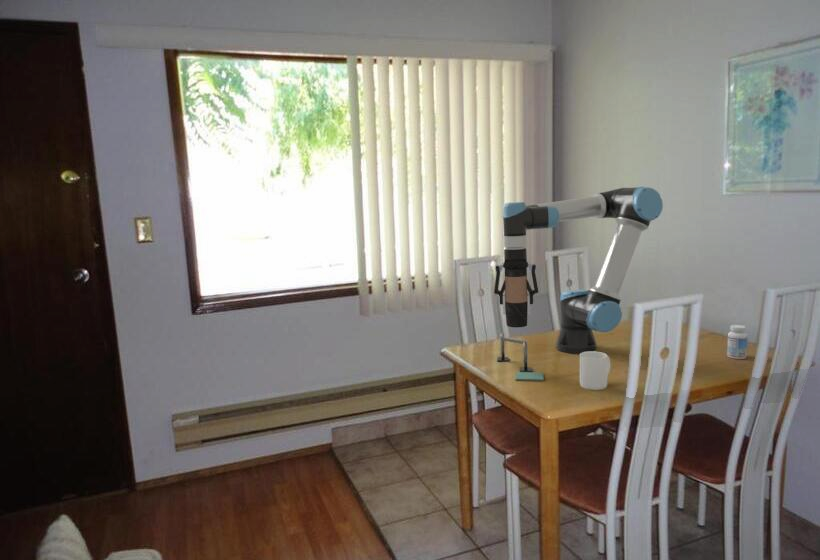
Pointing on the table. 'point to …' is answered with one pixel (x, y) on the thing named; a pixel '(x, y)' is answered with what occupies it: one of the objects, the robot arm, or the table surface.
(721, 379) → the table surface
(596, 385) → the cup
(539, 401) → the table surface
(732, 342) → the pill bottle
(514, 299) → the travel mug
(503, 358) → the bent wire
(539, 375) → the coaster
